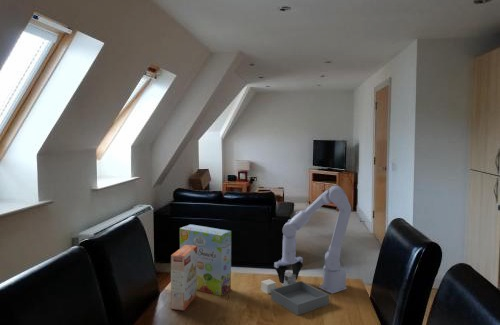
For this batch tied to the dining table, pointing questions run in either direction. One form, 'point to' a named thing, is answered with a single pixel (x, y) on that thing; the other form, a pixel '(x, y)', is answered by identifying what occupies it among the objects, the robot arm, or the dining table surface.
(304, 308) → the tote
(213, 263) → the snack box
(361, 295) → the dining table surface
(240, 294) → the dining table surface
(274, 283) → the white cube
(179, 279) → the cracker box
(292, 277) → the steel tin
